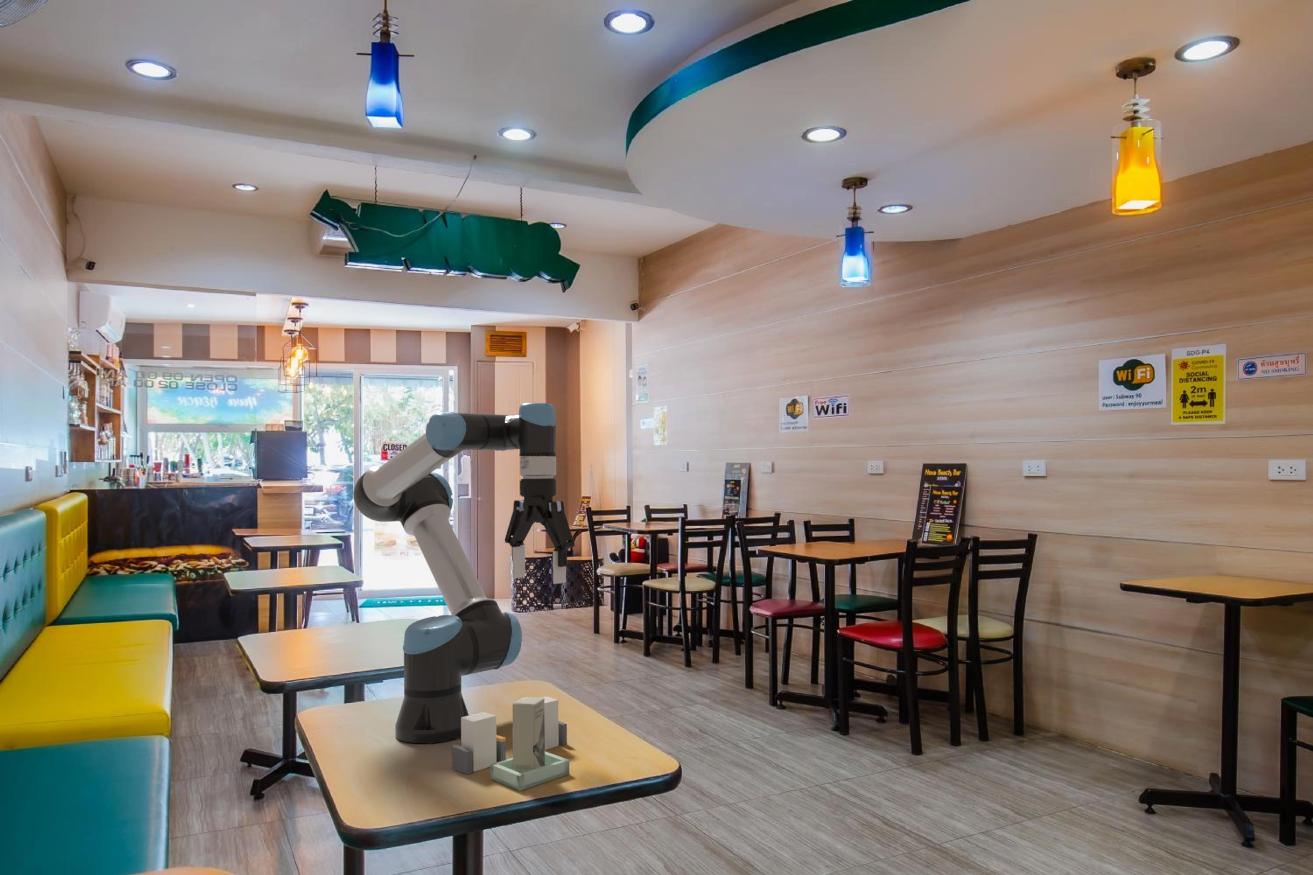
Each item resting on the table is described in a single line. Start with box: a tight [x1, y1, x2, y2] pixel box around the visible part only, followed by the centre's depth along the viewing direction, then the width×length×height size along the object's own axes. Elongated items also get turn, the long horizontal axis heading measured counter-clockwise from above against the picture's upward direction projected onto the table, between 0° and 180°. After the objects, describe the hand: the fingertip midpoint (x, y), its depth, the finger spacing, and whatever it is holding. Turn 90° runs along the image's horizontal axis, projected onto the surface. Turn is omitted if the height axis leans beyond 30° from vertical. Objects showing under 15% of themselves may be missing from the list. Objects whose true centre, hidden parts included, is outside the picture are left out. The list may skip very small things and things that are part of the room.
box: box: [512, 696, 546, 773], centre depth 156 cm, size 5×4×13 cm
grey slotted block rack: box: [451, 720, 568, 775], centre depth 168 cm, size 5×23×5 cm, turn 135°
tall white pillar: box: [540, 696, 560, 751], centre depth 173 cm, size 4×5×9 cm
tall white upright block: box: [460, 711, 497, 773], centre depth 162 cm, size 4×5×9 cm
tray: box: [489, 751, 570, 792], centre depth 156 cm, size 9×11×2 cm
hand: (538, 580), depth 181 cm, fingers open, 13 cm apart
